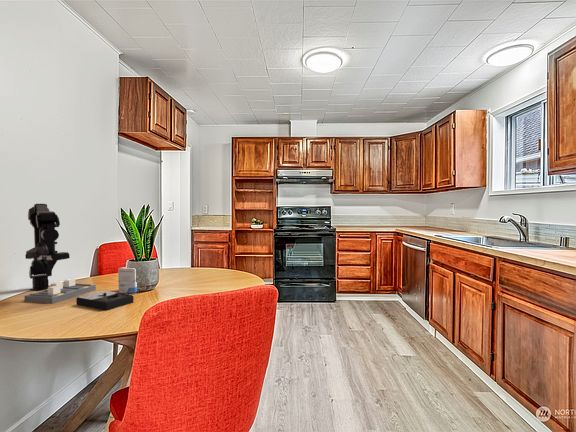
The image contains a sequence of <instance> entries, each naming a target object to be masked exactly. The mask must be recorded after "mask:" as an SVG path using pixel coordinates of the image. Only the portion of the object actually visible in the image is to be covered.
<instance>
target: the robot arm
mask: <svg viewBox="0 0 576 432" xmlns="http://www.w3.org/2000/svg"><path fill="white" fill-rule="evenodd" d="M27 220H28V221H29V224H30V225H31V227H32V228H33V237H34V239H33V241H34V247H32V248H31V249H28V250H26V251H25V260H27V259H28V260H32V259H33V260H32V261H31V263H30V266H29V272H28V274H29V276H28V277H29V278H30V279H32V288H29V291H44V290H48V287H50V285H49V277H52V276H53V275H52V274H53V273H52V272H53V269H54V266H55V265H56V264H57V262H58V261H61V260H67V259H70V253H69V252H66V251H60V252H58V250H56V245H58V241H57V240H58V239H59V237H60V234H59V232H58V230H57V229H56V228H59V227H60V225H61V223H60V217H59V216H58V214H57V213H56V212H55V211H50V208H48V204H47V203H34V204H33V206H32V207H31V208H29V209H28V213H27Z"/></svg>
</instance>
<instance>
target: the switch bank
mask: <svg viewBox="0 0 576 432" xmlns="http://www.w3.org/2000/svg"><path fill="white" fill-rule="evenodd" d="M96 288H97V287H96V285H95V284H91V283H76V282H75V285H74V286H70V287H64V285H63V289H60V291H61V293H58V294H54V295H49V294H48V289H44V290H40V291H37V292H34V293H29V294H27V295H24V296H23V297H24V303H25V302H26V303H42V304H56V303H58V302H61V301H65V300H69V299H72V298H75V297H80V296H83V295H86V294H89V293H90V292H94V291H96V290H97V289H96Z"/></svg>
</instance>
